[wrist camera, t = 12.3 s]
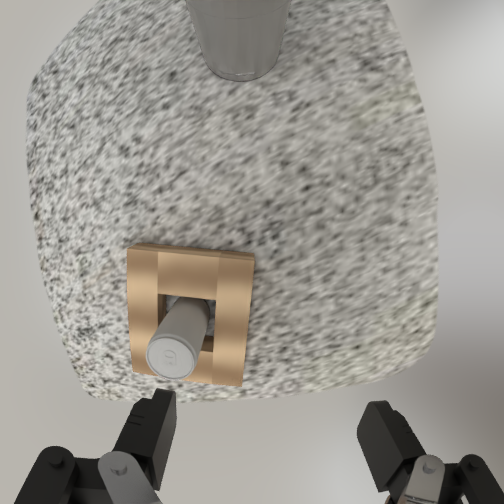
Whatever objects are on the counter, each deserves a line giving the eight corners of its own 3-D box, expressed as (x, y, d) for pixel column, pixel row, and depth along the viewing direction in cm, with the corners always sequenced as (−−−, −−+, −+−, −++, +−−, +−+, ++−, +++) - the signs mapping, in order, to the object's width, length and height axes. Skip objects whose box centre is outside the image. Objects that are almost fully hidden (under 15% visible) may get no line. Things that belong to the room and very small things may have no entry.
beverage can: (173, 326, 36) (146, 377, 25) (173, 291, 36) (142, 333, 24) (210, 329, 37) (196, 384, 25) (211, 294, 36) (195, 340, 24)
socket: (139, 242, 34) (126, 248, 30) (253, 253, 35) (254, 260, 31) (142, 356, 37) (132, 371, 33) (242, 369, 38) (241, 386, 34)
